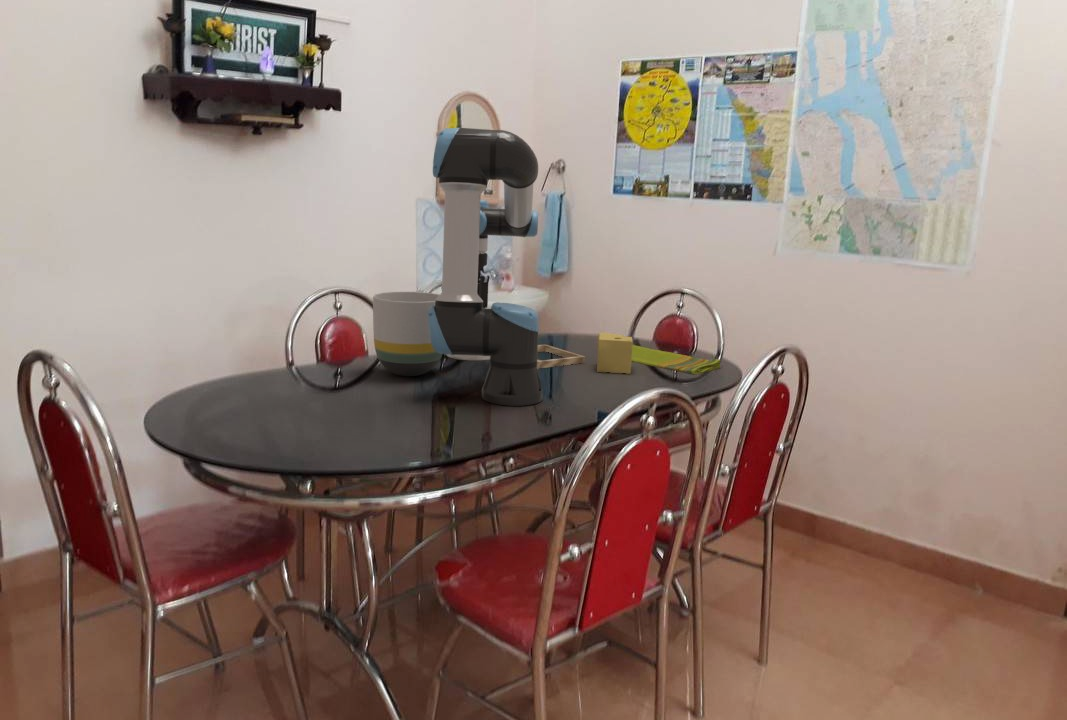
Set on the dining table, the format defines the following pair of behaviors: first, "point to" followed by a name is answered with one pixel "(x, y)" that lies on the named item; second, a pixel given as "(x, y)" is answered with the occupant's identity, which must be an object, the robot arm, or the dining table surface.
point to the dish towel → (673, 361)
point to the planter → (404, 332)
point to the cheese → (614, 353)
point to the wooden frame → (567, 360)
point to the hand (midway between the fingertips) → (472, 328)
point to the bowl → (469, 357)
